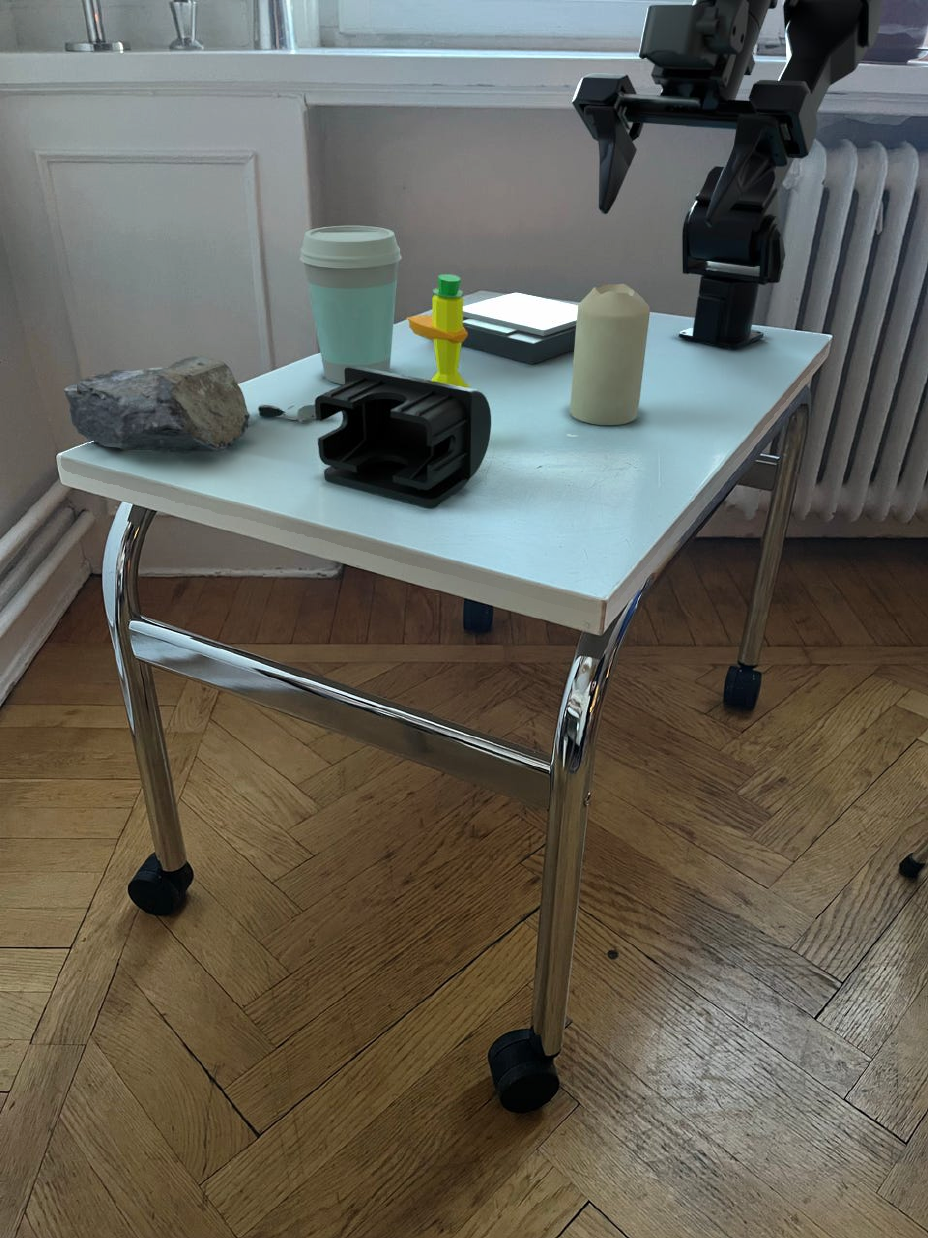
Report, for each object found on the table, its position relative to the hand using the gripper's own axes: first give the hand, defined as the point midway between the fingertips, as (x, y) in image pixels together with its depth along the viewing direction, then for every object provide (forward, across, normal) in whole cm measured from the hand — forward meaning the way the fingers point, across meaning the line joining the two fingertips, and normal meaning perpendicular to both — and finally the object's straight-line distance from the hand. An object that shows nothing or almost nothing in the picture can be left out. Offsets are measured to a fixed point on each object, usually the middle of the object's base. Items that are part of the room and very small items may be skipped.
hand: (653, 217), depth 73 cm
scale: (+7, -16, +14) cm, 23 cm away
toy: (+25, -19, -13) cm, 34 cm away
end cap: (+27, -4, -14) cm, 31 cm away
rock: (+32, -24, -21) cm, 45 cm away
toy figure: (+23, -6, -8) cm, 25 cm away
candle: (+16, +1, +2) cm, 16 cm away
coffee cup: (+18, -22, -2) cm, 29 cm away
